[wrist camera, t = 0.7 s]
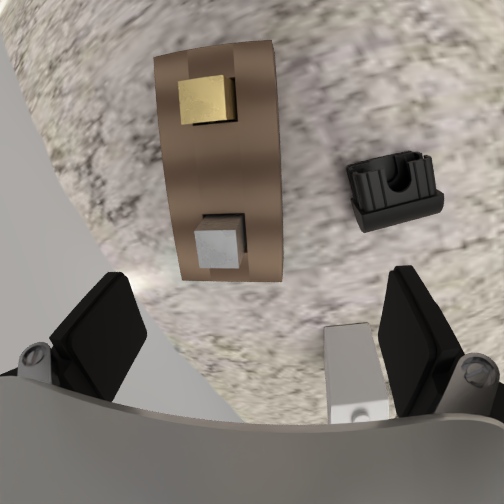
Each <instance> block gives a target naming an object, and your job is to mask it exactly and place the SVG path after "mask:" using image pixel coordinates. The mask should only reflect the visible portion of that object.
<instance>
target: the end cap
mask: <svg viewBox="0 0 504 504" xmlns="http://www.w3.org/2000/svg"><path fill="white" fill-rule="evenodd" d="M347 173H348V177H349V181H350V185H351V189H352V193H353V197H354V198H353V199H351V202H352V206H353V210H354V213H355V216H356V219H357V222H358V225H359V227H360V229H361V231H362V232H363V233H366V232H370V231H374V230H378V229H381V228H385V227H389V226H393V225H396V224H400V223H404V222H408V221H411V220H415V219H419V218H422V217H426V216H430V215H433V214H437V213H440V212H441V210H442V209H443V205H444V193H442V192H440V191H439V190H437V189H436V184H435V177H434V170H433V164H432V158H431V156H428V155H424V159H423V156H422V153H420V152H412V151H405V152H400V153H396V154H391V155H387V156H383V157H378V158H374V159H370V160H366V161H362V162H358V163H354V164H350V165H348V166H347Z"/></svg>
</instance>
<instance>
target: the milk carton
mask: <svg viewBox="0 0 504 504" xmlns="http://www.w3.org/2000/svg"><path fill="white" fill-rule="evenodd" d="M324 365H325V379H326V394H327V411H328V424H339V423H355V422H367V421H378V420H386V419H388V415H389V398H388V394H387V389H386V385H385V381H384V377H383V373H382V369H381V365H380V361H379V358H378V354H377V350H376V347H375V343H374V339H373V336H372V332H371V329H370V326H369V323H363V324H353V325H343V326H332V327H325V328H324Z"/></svg>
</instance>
